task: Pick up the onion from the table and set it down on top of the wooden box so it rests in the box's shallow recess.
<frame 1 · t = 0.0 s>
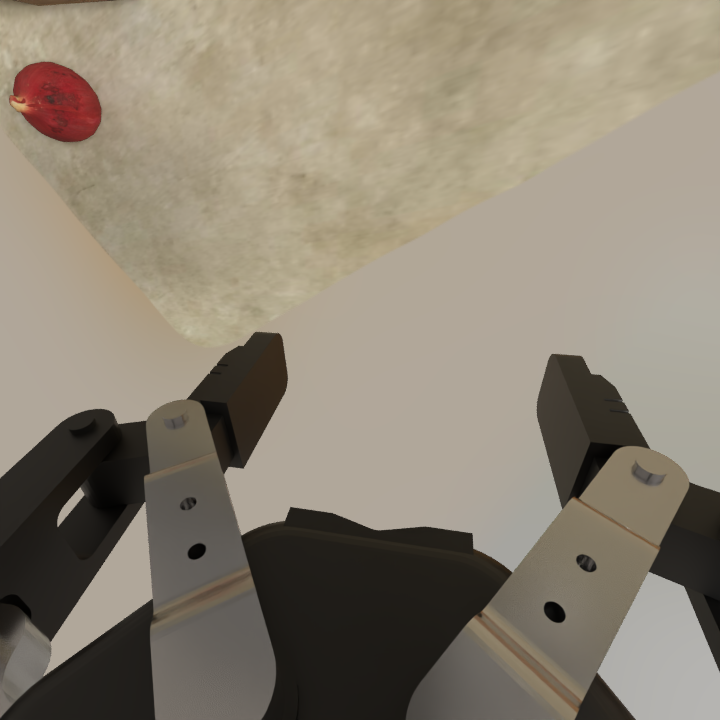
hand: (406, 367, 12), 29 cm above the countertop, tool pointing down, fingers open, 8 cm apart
onion: (92, 102, 38), on the countertop
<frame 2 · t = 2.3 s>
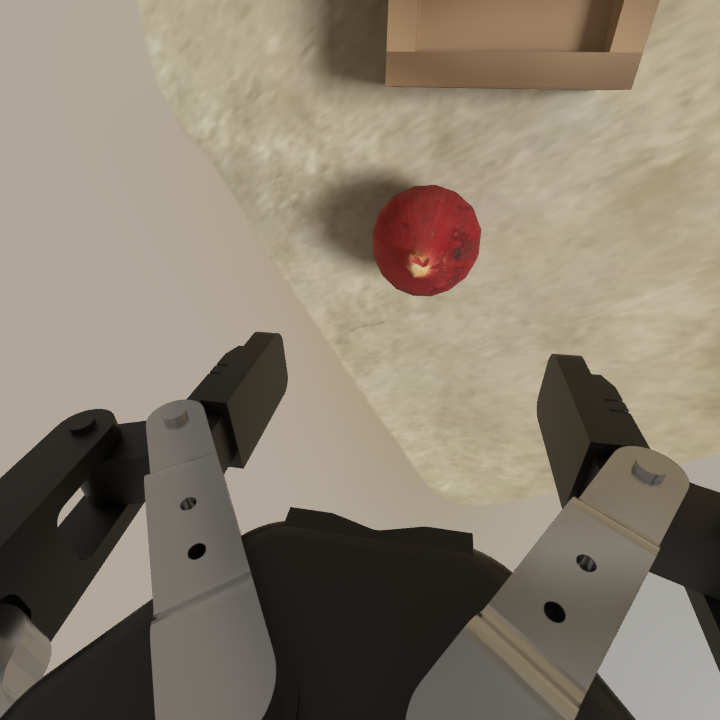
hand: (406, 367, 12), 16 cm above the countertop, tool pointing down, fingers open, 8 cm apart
onion: (428, 223, 26), on the countertop
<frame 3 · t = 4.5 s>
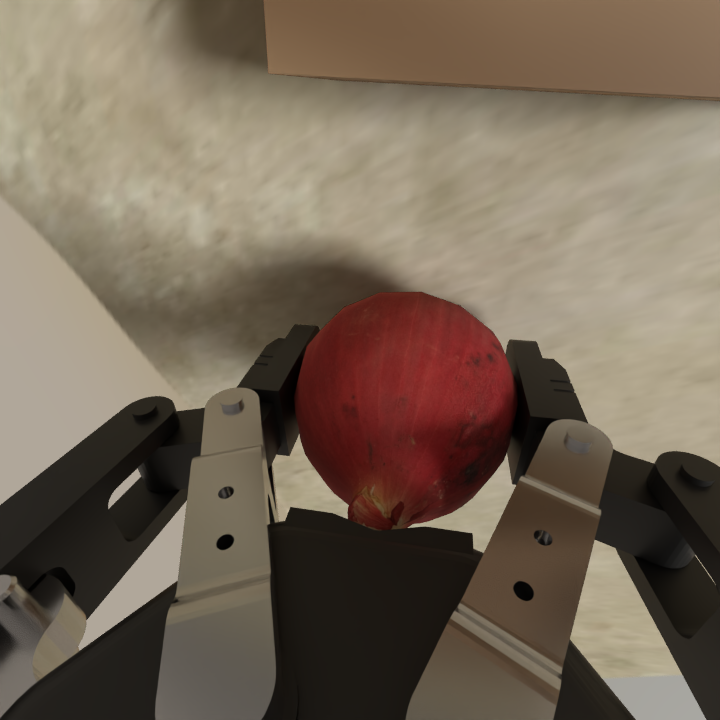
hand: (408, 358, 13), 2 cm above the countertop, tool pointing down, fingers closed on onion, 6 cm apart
onion: (413, 331, 14), on the countertop, touching gripper
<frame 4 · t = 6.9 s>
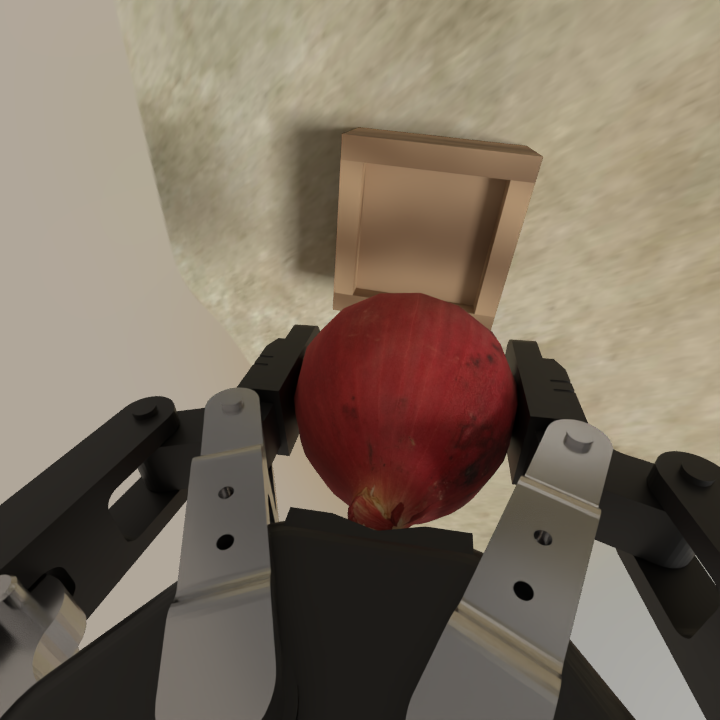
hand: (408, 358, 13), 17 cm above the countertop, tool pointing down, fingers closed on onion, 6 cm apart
onion: (413, 331, 14), point 15 cm above the countertop, touching gripper
wooden box: (426, 220, 27), on the countertop
when the fingers open (7 cm above the countertop, at t = 9.6 s): onion drops 2 cm, resting on wooden box.
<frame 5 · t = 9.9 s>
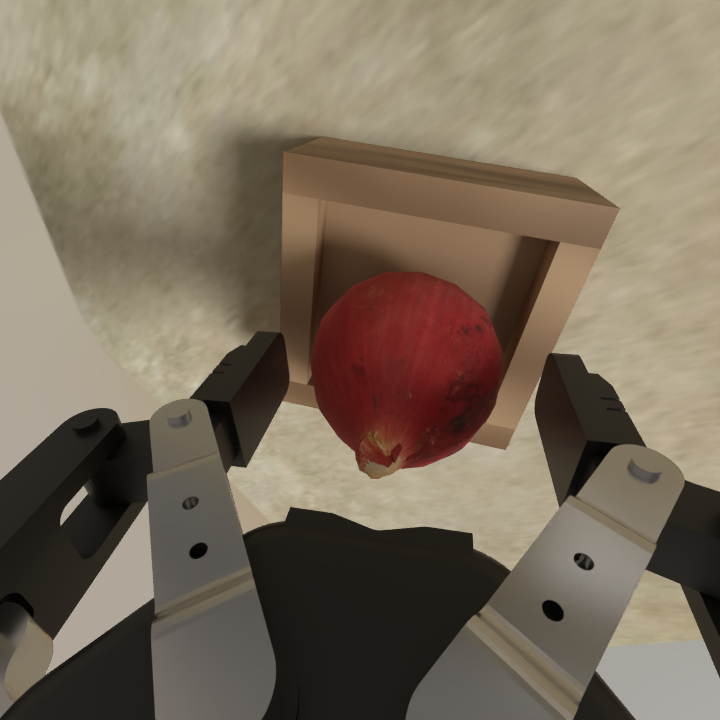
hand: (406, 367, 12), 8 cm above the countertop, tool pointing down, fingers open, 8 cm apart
onion: (416, 308, 16), point 3 cm above the countertop, touching wooden box
wooden box: (420, 272, 19), on the countertop, touching onion
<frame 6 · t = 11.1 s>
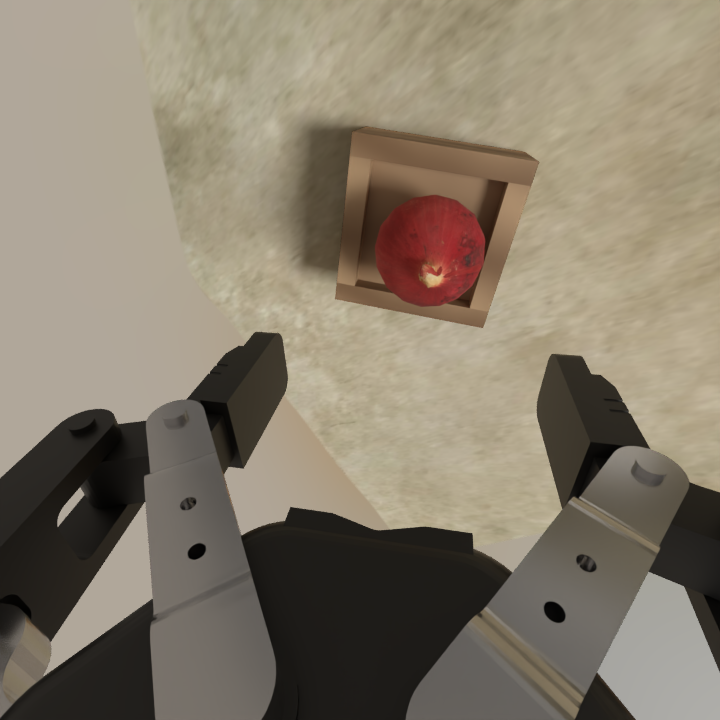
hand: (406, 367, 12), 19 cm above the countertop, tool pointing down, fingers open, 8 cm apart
onion: (424, 234, 25), point 3 cm above the countertop, touching wooden box
wooden box: (427, 218, 29), on the countertop, touching onion
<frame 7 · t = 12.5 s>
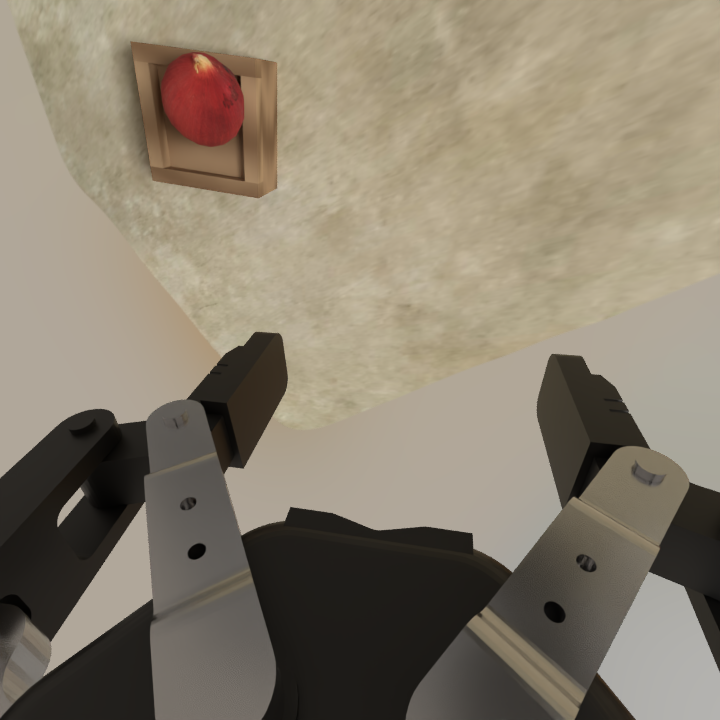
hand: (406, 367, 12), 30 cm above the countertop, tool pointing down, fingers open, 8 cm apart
onion: (204, 134, 34), point 4 cm above the countertop, touching wooden box
wooden box: (227, 121, 38), on the countertop, touching onion
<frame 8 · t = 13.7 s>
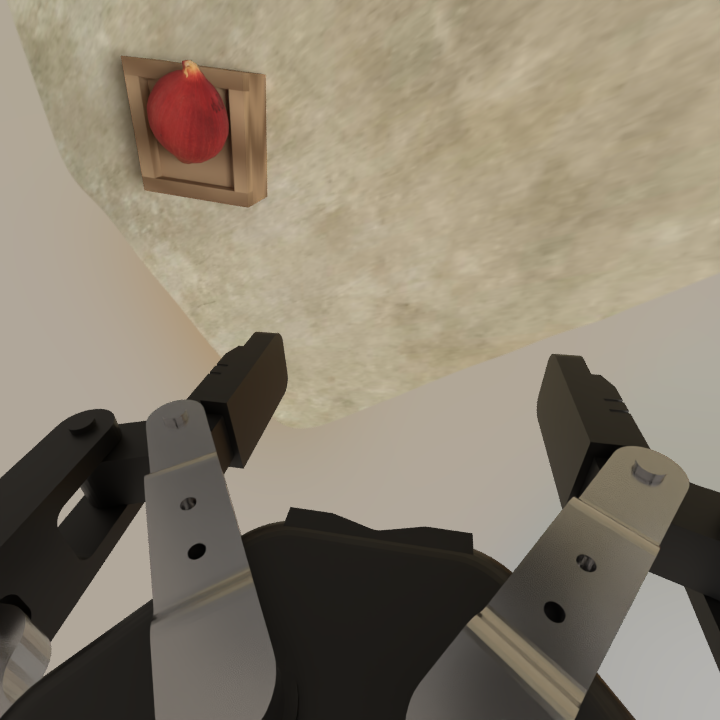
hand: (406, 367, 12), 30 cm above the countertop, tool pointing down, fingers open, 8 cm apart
onion: (185, 163, 35), point 5 cm above the countertop
wooden box: (217, 131, 39), on the countertop
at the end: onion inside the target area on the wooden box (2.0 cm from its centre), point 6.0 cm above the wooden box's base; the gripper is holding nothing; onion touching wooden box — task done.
